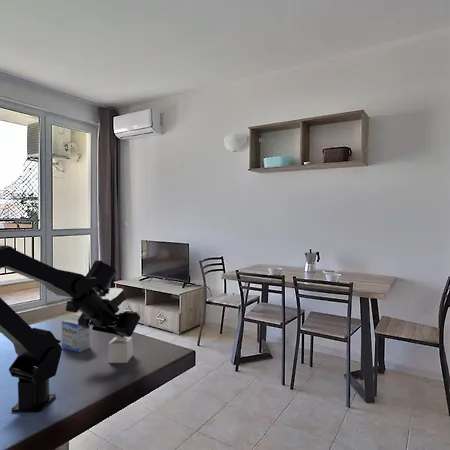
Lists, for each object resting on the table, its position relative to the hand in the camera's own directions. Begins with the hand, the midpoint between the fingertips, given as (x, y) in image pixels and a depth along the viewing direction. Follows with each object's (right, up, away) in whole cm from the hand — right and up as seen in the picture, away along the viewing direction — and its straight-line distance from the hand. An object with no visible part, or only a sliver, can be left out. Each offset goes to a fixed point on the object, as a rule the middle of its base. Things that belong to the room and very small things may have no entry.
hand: (124, 334), depth 101 cm
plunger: (-1, -6, -1) cm, 6 cm away
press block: (-1, -7, -1) cm, 7 cm away
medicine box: (-17, -7, +8) cm, 20 cm away
